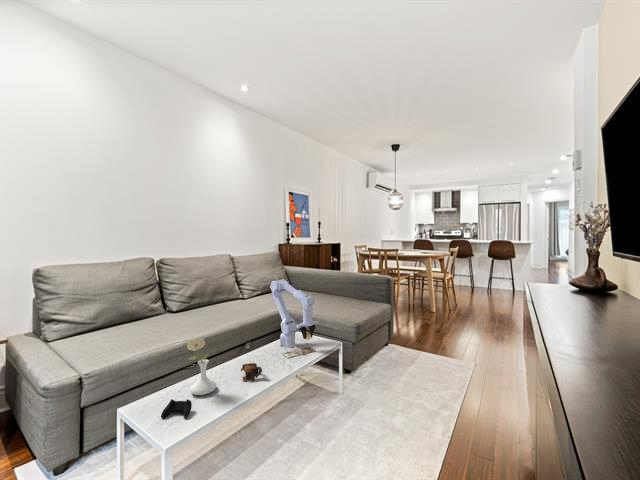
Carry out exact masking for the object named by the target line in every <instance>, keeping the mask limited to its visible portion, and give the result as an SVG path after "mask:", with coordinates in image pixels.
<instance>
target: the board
mask: <svg viewBox="0 0 640 480" xmlns="http://www.w3.org/2000/svg"><path fill="white" fill-rule="evenodd" d="M293 348H294V349H293V350H290V351H289V350H288V351H286V352H282V353H280V355H281V356H283V357H284V358H285V359H287V360H288V359H292V358H296V357H300V356H304V355H308V354H312V353H315V352H317V350H316V349H315V348H313V347H311V346H307V347H302V348H300V347H297V346H296V345H295V346H294V347H293Z"/></svg>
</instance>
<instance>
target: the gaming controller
mask: <svg viewBox="0 0 640 480" xmlns="http://www.w3.org/2000/svg"><path fill="white" fill-rule="evenodd" d="M192 407H193V405H192V400H190V399H186V400H174V399H170V401H169V403H168V404H167V405H166V406H165V407H164V409H163V410H162V412H161V415H160V418H161V419H166V418H167V417H168V416H169V415H170V414H175V413H177V414H179V413H180V414H183V419H188V417H189V416H190V414H191V412H192Z"/></svg>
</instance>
